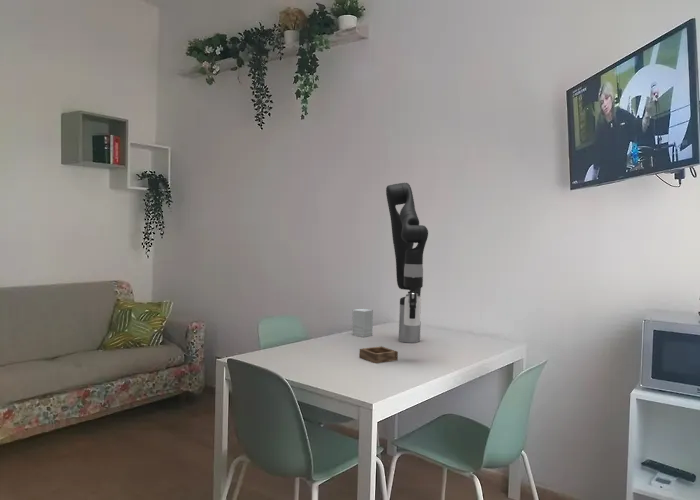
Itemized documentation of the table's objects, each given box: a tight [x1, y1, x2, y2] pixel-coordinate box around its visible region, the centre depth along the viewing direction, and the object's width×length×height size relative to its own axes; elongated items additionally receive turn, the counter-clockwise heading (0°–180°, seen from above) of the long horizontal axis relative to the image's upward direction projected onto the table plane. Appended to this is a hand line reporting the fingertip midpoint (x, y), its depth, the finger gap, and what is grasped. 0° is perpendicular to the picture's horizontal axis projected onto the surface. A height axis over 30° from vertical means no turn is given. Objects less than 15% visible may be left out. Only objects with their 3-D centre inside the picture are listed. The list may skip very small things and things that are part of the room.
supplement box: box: [351, 308, 374, 338], centre depth 273 cm, size 7×7×13 cm
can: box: [404, 293, 422, 326], centre depth 223 cm, size 6×6×12 cm
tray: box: [358, 345, 399, 364], centre depth 225 cm, size 11×11×4 cm
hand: (412, 317), depth 223 cm, fingers closed on can, 6 cm apart
